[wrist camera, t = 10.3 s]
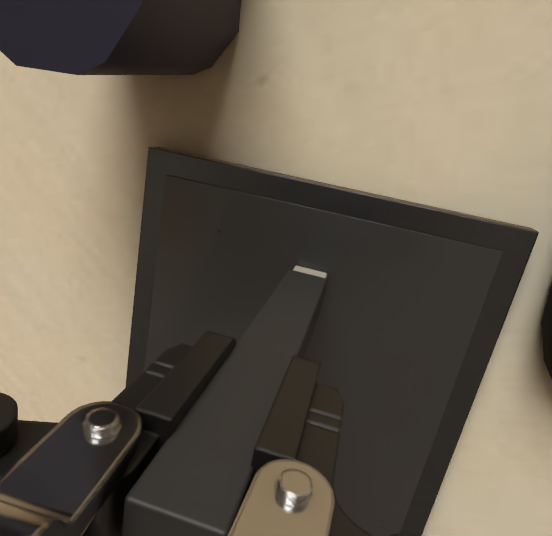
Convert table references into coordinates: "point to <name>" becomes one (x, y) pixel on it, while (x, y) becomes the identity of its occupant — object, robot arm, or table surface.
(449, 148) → the table surface
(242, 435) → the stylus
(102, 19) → the speaker
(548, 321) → the gaming mouse
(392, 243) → the tablet
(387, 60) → the table surface
